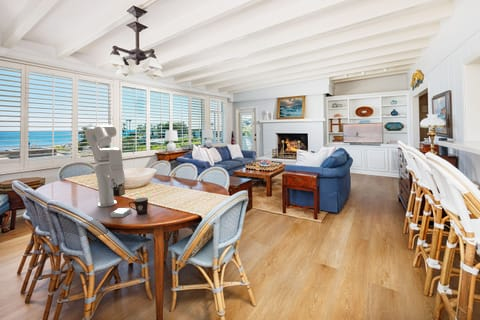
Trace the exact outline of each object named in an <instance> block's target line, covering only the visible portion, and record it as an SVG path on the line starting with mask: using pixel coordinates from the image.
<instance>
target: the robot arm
mask: <svg viewBox="0 0 480 320" xmlns="http://www.w3.org/2000/svg"><path fill="white" fill-rule="evenodd" d="M84 136H85V139H86V141H87V143H88V145H89V146H90V148H91V152H92V156H93V159H94V162H95V163H97V164H96V165H95V167H94V172H95V177H96V181H97V187H98V197H99V202H98V204H97V207H99V208H106V207H111V206H114V205H117V203H118V202H117V200H115V197H120V196H119V190H118V186H124V187H125V183H126V180H125V179H126V177H125V172H124V171H125V170H124V165H123V164H124V163H123V155H122V154H123V153H122V149H121V148H119V147H107V146H109V145H110V144H111V143H112V141H113V139H112V138H114V137H116V136H117V129H116V127H115V126H114V125H111V124H106V125H105V124H103V125H101V124H99V125H96V126H93V127H88V128H87V129H85V130H84ZM106 147H107V148H106ZM115 186H116V187H115ZM113 190H114V196H113Z"/></svg>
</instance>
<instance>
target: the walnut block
mask: <svg viewBox="0 0 480 320" xmlns="http://www.w3.org/2000/svg"><path fill="white" fill-rule="evenodd" d="M115 187H116V186H115ZM118 190H119V196H118V197H123V196H125V195H126V189H125V185H124V186H119V185H118ZM113 196H114V190H113ZM114 197H115V196H114Z"/></svg>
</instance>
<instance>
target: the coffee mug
mask: <svg viewBox="0 0 480 320" xmlns="http://www.w3.org/2000/svg"><path fill="white" fill-rule="evenodd" d="M131 203H133V205H134V206H135V208H134V207H132V206H131ZM128 207H130V208H131V210H132V209H133V210H134V211H135V212H136V215H137V216H145V215H148V207H149V198H148V197H137V198H135V199H134V200H133V201H130V202H129V203H128Z"/></svg>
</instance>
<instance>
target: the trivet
mask: <svg viewBox="0 0 480 320" xmlns="http://www.w3.org/2000/svg"><path fill="white" fill-rule="evenodd" d="M131 213H132V208H131V207H130V208H127V207H126V208H125V207H124V208H122V207H121V208H119V207H118V208H116V209H115V210H113V211H112V212H110V213H109V214H110V218H124V217H126V216H128V215H129V214H131Z"/></svg>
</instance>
